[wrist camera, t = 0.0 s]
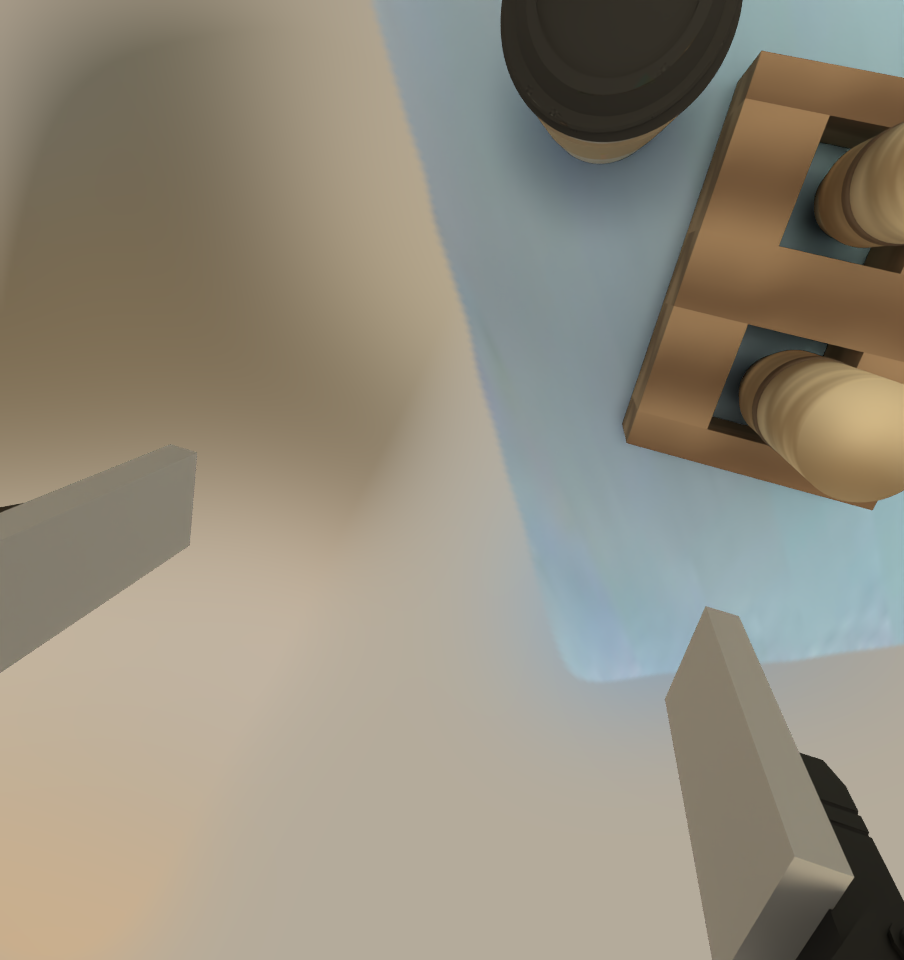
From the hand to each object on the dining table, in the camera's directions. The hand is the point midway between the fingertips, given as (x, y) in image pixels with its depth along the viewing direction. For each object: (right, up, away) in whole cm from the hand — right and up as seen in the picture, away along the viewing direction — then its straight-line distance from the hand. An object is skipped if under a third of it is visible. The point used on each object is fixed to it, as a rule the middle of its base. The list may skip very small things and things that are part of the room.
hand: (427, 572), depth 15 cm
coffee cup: (+10, +24, +20) cm, 33 cm away
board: (+21, +13, +21) cm, 32 cm away
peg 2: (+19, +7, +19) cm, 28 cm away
